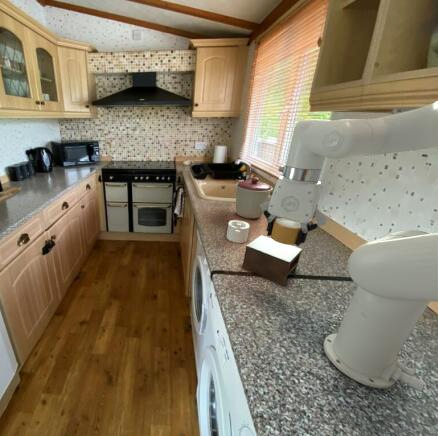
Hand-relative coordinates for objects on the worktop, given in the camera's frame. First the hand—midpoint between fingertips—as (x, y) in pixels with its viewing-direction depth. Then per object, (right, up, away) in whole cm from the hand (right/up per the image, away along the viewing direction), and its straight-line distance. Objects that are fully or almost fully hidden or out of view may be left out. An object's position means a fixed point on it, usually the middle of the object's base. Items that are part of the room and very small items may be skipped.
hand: (284, 238), depth 66 cm
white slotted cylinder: (+5, -1, +47) cm, 48 cm away
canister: (+18, +7, +68) cm, 70 cm away
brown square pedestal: (+6, -13, +20) cm, 25 cm away
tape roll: (0, 0, 0) cm, 0 cm away
